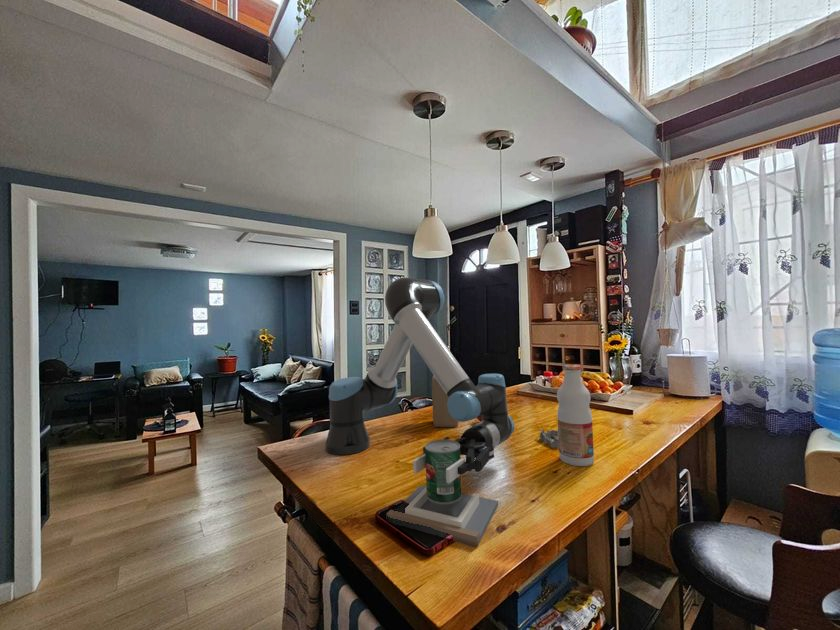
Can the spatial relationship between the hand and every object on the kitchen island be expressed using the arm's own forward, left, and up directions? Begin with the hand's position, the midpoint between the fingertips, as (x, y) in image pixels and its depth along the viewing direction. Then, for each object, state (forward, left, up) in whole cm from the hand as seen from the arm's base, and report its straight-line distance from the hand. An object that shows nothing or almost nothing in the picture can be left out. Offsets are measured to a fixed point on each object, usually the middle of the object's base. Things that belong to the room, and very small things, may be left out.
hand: (430, 471), depth 72 cm
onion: (-10, +72, -11) cm, 73 cm away
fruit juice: (+26, +46, -11) cm, 54 cm away
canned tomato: (+1, +5, -7) cm, 9 cm away
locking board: (+1, +5, -11) cm, 12 cm away
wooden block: (-24, +66, -11) cm, 71 cm away
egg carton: (+19, +59, -12) cm, 63 cm away
